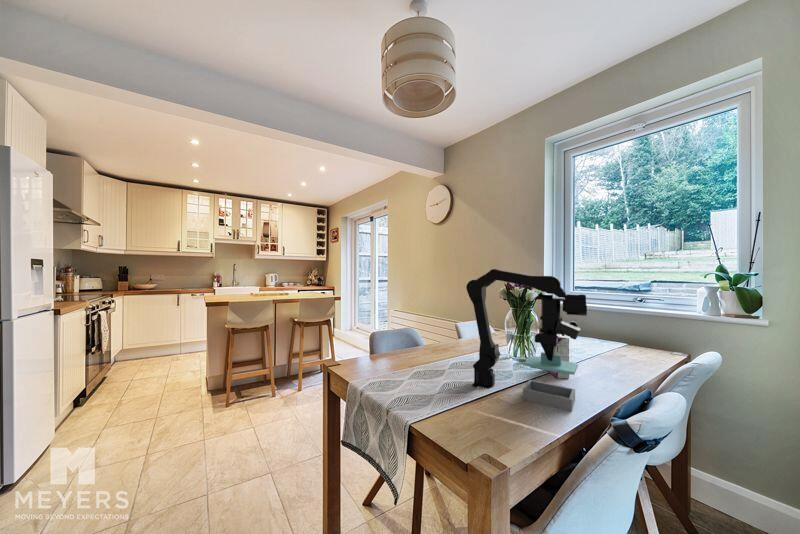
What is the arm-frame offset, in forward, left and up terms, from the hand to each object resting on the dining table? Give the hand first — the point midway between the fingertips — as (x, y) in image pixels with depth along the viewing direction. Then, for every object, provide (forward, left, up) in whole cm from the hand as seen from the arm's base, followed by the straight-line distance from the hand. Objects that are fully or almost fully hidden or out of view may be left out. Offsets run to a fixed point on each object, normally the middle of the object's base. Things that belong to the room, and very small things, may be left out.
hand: (550, 360), depth 99 cm
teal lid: (0, 0, -2) cm, 2 cm away
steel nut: (+3, -1, -12) cm, 13 cm away
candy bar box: (-2, +28, -13) cm, 31 cm away
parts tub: (0, -2, -13) cm, 13 cm away
